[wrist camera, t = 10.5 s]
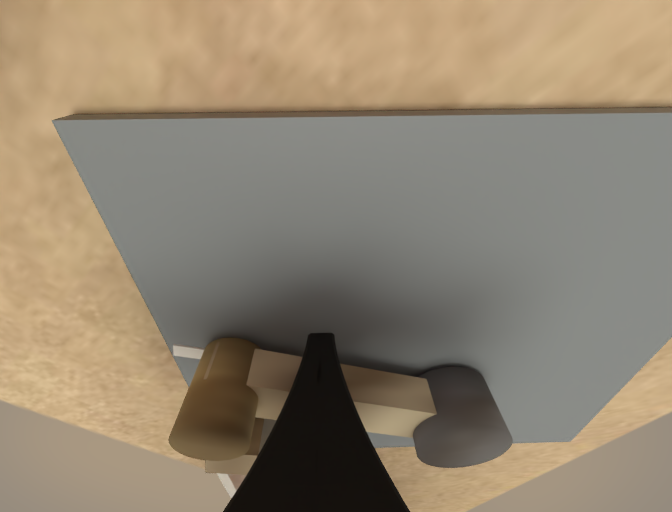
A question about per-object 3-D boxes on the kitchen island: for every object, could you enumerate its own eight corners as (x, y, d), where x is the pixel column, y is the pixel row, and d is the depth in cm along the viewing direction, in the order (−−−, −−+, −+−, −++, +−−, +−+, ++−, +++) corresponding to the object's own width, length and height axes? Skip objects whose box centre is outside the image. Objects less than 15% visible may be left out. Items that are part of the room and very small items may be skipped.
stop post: (270, 380, 14) (257, 455, 12) (266, 402, 15) (253, 475, 13) (227, 375, 14) (204, 452, 11) (226, 398, 15) (205, 472, 12)
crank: (502, 374, 14) (547, 457, 11) (457, 416, 16) (485, 494, 13) (208, 318, 11) (169, 408, 9) (201, 376, 14) (167, 464, 11)
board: (562, 428, 20) (571, 442, 19) (226, 438, 19) (222, 454, 19) (849, 105, 9) (896, 110, 8) (73, 114, 8) (49, 120, 7)
